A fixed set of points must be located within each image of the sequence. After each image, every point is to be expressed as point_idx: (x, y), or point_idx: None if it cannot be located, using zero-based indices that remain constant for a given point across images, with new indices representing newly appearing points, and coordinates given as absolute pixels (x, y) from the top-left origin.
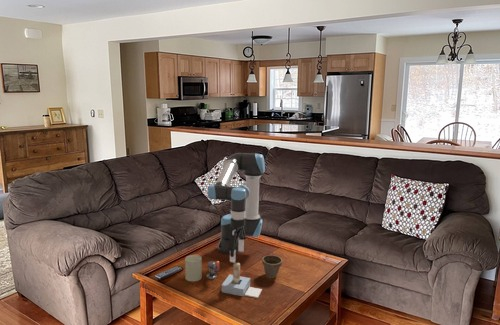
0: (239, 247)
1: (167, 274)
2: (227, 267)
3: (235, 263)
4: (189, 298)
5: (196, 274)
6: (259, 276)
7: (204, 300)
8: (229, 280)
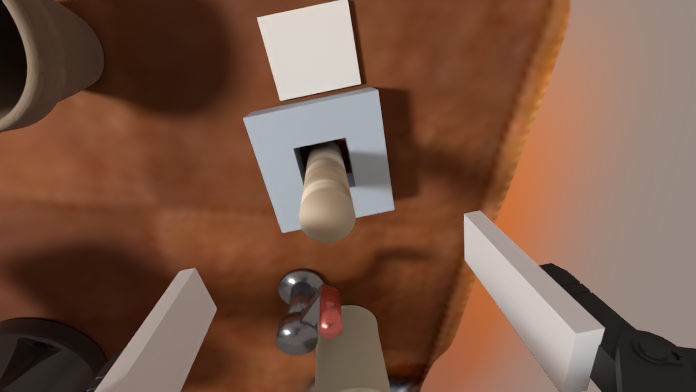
0: (195, 337)
1: None
2: None
3: (322, 232)
4: None
5: (366, 331)
6: (137, 109)
7: None
8: None
